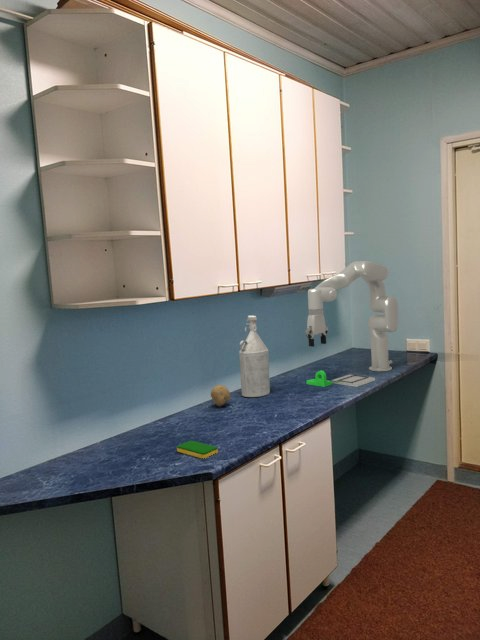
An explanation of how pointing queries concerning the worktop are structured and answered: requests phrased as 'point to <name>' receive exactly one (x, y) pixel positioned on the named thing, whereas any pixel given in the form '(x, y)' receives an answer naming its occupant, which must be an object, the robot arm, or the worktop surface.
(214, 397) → the natural sponge
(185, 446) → the dish sponge
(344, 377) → the flange
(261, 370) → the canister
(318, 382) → the mechanical part
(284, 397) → the worktop surface
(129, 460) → the worktop surface
